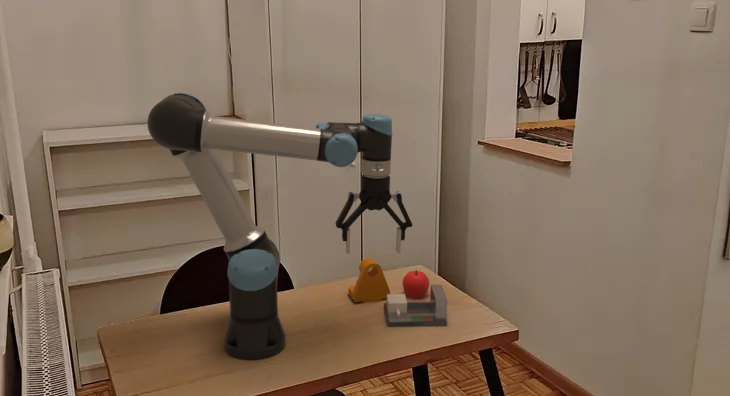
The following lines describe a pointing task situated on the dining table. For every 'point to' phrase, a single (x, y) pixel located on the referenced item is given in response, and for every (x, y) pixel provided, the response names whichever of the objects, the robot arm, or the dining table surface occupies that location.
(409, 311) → the gauge base
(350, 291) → the bracket
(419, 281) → the apple
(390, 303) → the cream block with peg
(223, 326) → the dining table surface
